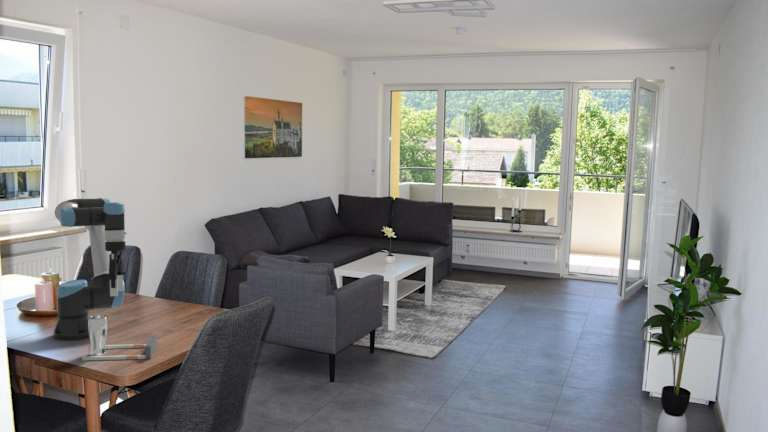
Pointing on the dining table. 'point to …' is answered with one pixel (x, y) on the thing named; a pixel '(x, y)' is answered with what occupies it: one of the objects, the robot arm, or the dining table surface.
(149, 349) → the guide track
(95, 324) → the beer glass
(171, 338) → the dining table surface
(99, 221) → the robot arm
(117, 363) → the dining table surface
